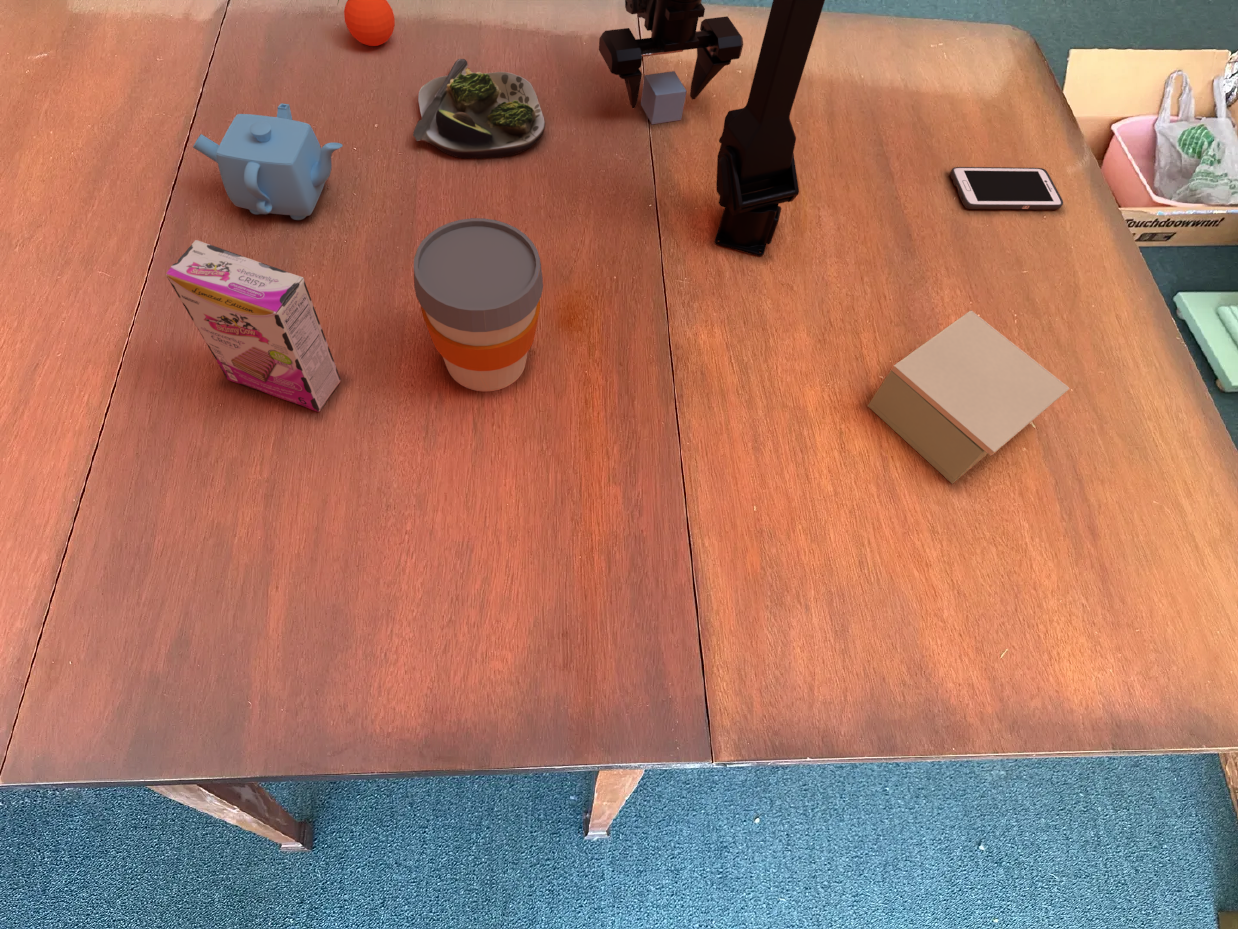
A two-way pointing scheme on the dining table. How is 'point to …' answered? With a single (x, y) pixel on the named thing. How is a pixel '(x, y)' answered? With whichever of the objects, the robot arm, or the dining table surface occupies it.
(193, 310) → the candy bar box
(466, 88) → the avocado toast plate
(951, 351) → the lid
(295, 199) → the teapot
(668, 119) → the block
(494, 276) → the reusable coffee cup
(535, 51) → the dining table surface
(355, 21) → the clementine
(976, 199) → the cell phone
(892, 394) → the chest
